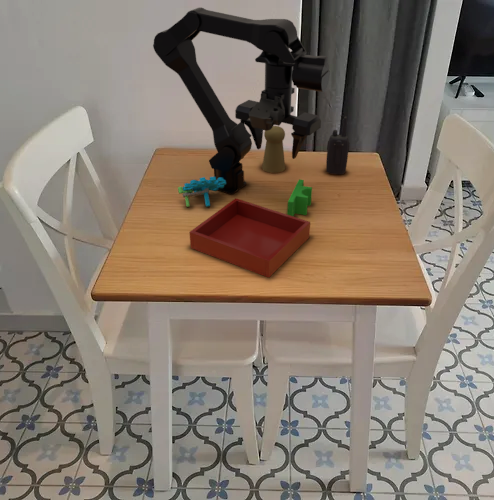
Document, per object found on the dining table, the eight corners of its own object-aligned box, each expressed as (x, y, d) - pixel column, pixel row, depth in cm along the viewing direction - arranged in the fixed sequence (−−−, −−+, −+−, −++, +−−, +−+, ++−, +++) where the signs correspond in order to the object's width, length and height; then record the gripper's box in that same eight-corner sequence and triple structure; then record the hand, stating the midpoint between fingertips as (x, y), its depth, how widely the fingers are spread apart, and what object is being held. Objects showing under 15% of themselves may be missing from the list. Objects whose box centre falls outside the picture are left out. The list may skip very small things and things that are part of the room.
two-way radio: (346, 170, 143) (352, 114, 134) (346, 178, 139) (352, 121, 131) (325, 168, 143) (329, 113, 135) (324, 176, 139) (329, 120, 131)
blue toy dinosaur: (226, 184, 131) (223, 170, 121) (230, 207, 130) (228, 196, 120) (180, 192, 131) (174, 179, 121) (184, 215, 130) (178, 205, 120)
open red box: (190, 248, 112) (189, 231, 109) (236, 213, 123) (235, 198, 121) (268, 277, 104) (269, 260, 102) (309, 237, 116) (310, 221, 114)
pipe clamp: (303, 222, 121) (304, 204, 118) (286, 219, 122) (287, 201, 119) (313, 198, 130) (314, 180, 127) (298, 196, 131) (299, 178, 128)
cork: (285, 173, 140) (287, 132, 134) (261, 172, 140) (262, 132, 134) (285, 163, 146) (286, 123, 139) (262, 162, 145) (263, 122, 139)
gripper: (219, 86, 113) (222, 156, 122) (299, 104, 106) (295, 177, 115) (248, 73, 121) (248, 139, 130) (324, 89, 114) (319, 158, 123)
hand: (276, 153), depth 124 cm, fingers open, 9 cm apart
